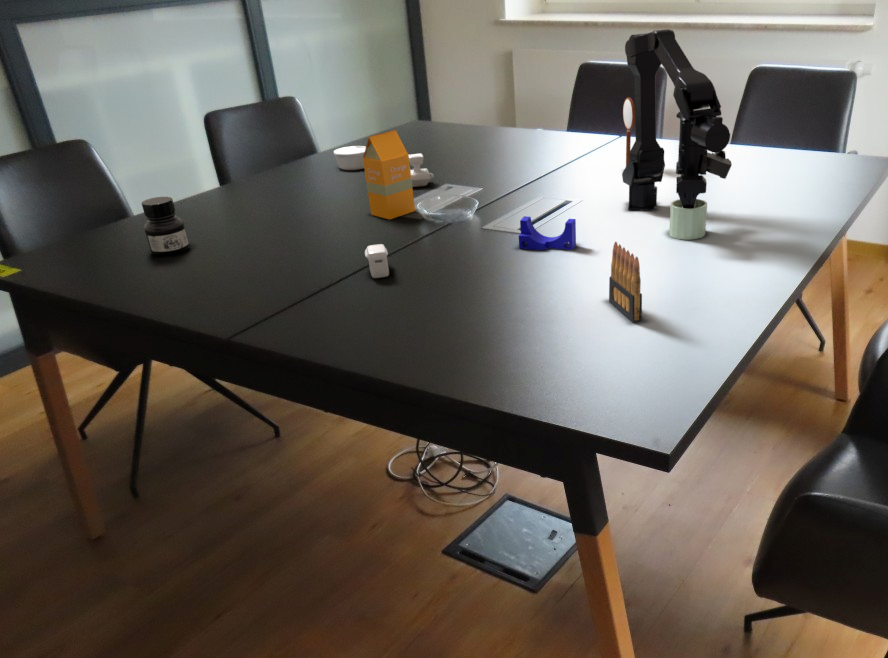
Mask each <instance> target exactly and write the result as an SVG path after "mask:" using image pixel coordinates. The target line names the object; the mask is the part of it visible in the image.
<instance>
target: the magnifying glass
mask: <svg viewBox="0 0 888 658" xmlns="http://www.w3.org/2000/svg"><path fill="white" fill-rule="evenodd" d="M622 105H623V106H622V121H623V125H624V127H625V129H626V136H625V138H626V139H625V140H626V141H625V145H626V146H625V167H626V166H627V164H628V162H629V152H630V150H631V142H632V141H631V139H632V137H631V135H632V131H631V130H633V128H635V102H634V101H633V99H632V97H629V96H628V97H626V98H625V99H624V100H623V104H622Z"/></svg>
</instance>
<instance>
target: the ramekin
mask: <svg viewBox="0 0 888 658" xmlns="http://www.w3.org/2000/svg"><path fill="white" fill-rule="evenodd" d="M365 149H366V146H365V145H352V146H350V145H349V146H344V147H340V148H336V149H335V150H333V155H334V157H335V160H336V163H337V166H338V167H339V169H340V170H343V171H344V170H345V171H357V170H361V169H362V170H363V169H364V163H363V156H364V152H365Z"/></svg>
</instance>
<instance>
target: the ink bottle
mask: <svg viewBox="0 0 888 658" xmlns="http://www.w3.org/2000/svg"><path fill="white" fill-rule="evenodd" d="M140 204H141V206H142V211H143V213H144V214H143V215H144V216H145V219H146V222H145V223H144V226H143V229H144V233H145V237H146V240H147V244H148V246H149V250H150V252H151V254H152V255H155V256H161V257H164V256H172V255H176V254H181V253H183V252H185V251H187V250H188V249H189V248H190V242H189V238H188V235H187V231H186V227H185V223H184V221H183V220H182V218H180V217H178V216H177V215H176V214H177V212H176V207H175V204H174V200H173V198H172V197H171V196H155V197H151V198H147V199H145V200H143V201H141V203H140Z"/></svg>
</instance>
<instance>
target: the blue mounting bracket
mask: <svg viewBox="0 0 888 658" xmlns="http://www.w3.org/2000/svg"><path fill="white" fill-rule="evenodd" d="M576 221H577V220H576V218H568V219H567V220H566V221H565V222H564V229H563V231H562V233H561V234H559V235H557V236H546V235H544V234H542V233H540V232H539V231H538V230H537V229H536V228H535V227H534V225H533V222H532V217H531V216H523V217H522V218H521V219H520V221H519V225H520V227H519V228H520V233H519V234H518V248H519V249H520V250H534V251H546V250H547V249H555V250H574V249H575V247H576V246H577V226H576V225H577V222H576Z"/></svg>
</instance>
